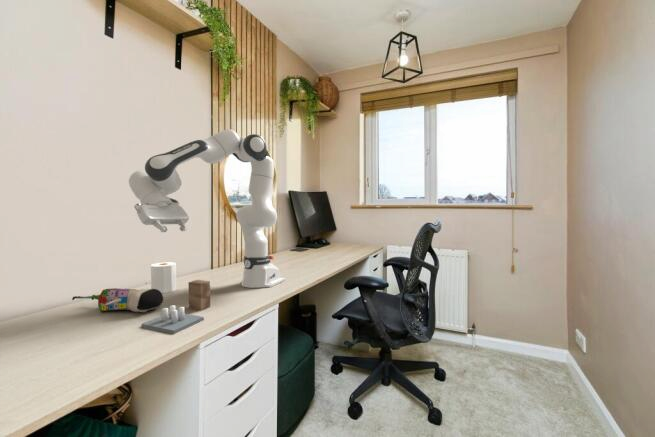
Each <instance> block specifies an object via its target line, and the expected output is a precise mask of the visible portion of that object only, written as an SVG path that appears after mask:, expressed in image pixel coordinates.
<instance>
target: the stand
mask: <svg viewBox="0 0 655 437" xmlns="http://www.w3.org/2000/svg"><path fill="white" fill-rule="evenodd" d="M204 320H205V316H200V315H196V314H195V315H194V314H191V313H190V314H188V313H185V307H184V306H179V307H178V309H176V305H175V304H174V305H173V304H172V305H169V307H164V308H162V309H161V315H160V316H158V317H156V318H152V319H149V320H147V321H144V322H142V323H141V325H140V327H141V328H144V329H148V330H149V329H150V330H155V331H157V332H158V331H159V332H163V333H168V334H172V335H173V334H174V335H175V334H177V333H179V332H181V331H184V330H185V329H187V328H190V327H192V326H194V325H196V324H198V323H200V322H202V321H204Z"/></svg>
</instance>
